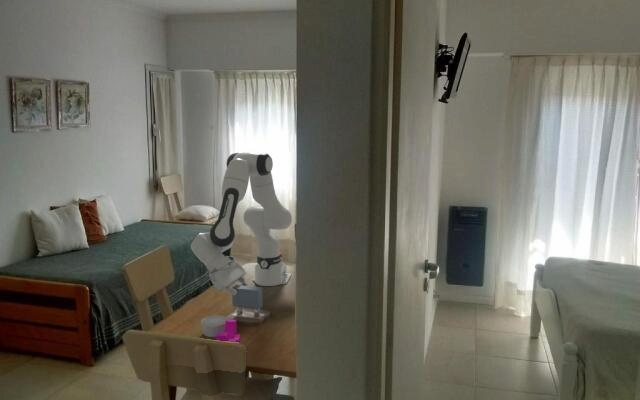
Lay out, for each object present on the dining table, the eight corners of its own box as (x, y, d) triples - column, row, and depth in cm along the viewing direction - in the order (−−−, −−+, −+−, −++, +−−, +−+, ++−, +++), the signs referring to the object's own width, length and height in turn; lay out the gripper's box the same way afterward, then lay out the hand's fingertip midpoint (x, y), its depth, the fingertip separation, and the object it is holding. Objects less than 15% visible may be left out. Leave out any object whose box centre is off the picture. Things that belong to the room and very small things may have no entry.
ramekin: (222, 325, 217) (221, 312, 216) (234, 333, 208) (234, 321, 208) (196, 332, 211) (195, 319, 210) (208, 341, 202) (207, 328, 201)
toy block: (234, 355, 190) (233, 336, 189) (217, 355, 190) (216, 335, 189) (243, 338, 205) (242, 319, 203) (227, 337, 205) (226, 319, 204)
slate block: (237, 302, 226) (236, 284, 225) (262, 305, 223) (262, 287, 221) (232, 306, 223) (231, 287, 221) (258, 309, 219) (258, 290, 218)
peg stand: (239, 310, 233) (238, 298, 232) (272, 314, 228) (272, 302, 227) (223, 322, 219) (223, 310, 219) (258, 327, 214) (258, 314, 214)
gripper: (211, 268, 213) (234, 294, 212) (235, 255, 232) (256, 278, 231) (202, 278, 215) (224, 303, 214) (226, 264, 234) (247, 287, 233)
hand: (241, 290), depth 222 cm, fingers open, 8 cm apart
